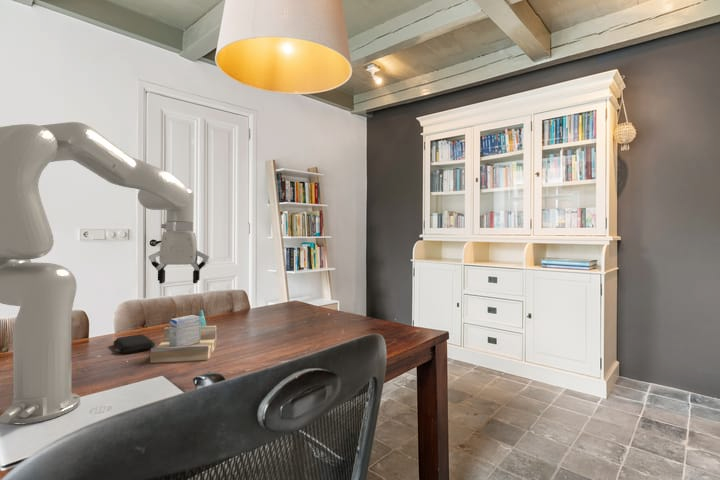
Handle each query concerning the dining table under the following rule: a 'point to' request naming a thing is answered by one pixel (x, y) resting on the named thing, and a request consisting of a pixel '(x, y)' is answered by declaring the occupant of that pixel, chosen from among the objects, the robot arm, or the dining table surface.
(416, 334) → the dining table surface
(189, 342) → the medicine box
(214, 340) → the stepped wooden block
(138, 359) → the dining table surface
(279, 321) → the dining table surface
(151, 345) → the carrying case or bag
